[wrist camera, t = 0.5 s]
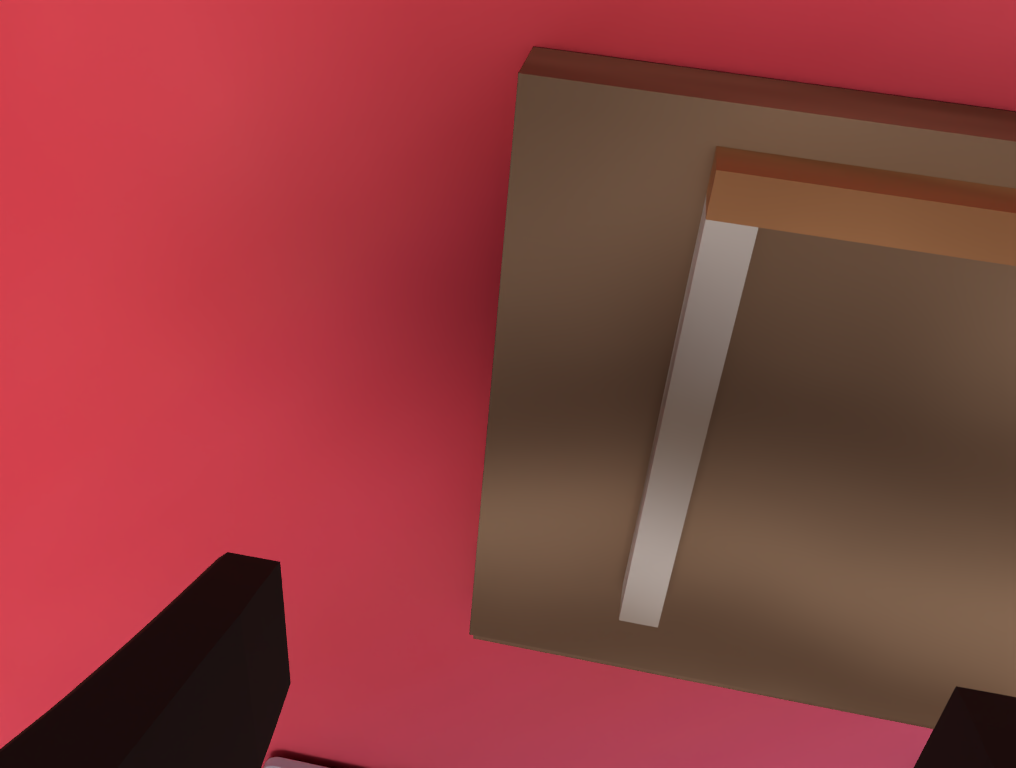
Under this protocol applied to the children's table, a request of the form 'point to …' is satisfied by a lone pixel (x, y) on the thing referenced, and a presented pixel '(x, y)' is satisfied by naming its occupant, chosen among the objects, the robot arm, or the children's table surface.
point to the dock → (755, 387)
